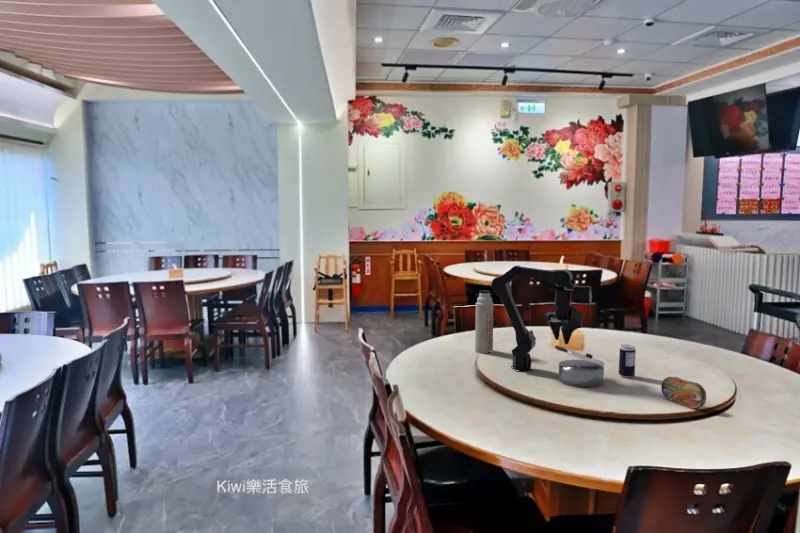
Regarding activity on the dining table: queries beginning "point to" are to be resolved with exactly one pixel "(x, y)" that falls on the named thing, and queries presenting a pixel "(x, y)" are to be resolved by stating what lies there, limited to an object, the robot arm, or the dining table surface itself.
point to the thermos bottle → (484, 323)
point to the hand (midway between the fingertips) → (561, 341)
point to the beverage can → (627, 361)
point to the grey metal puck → (581, 373)
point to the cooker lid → (581, 355)
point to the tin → (683, 392)
